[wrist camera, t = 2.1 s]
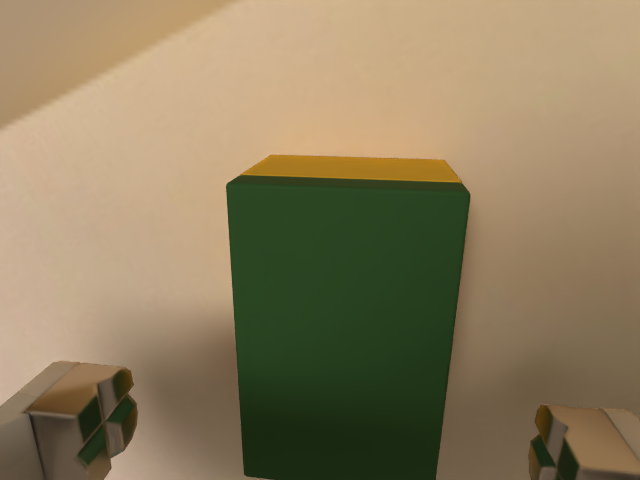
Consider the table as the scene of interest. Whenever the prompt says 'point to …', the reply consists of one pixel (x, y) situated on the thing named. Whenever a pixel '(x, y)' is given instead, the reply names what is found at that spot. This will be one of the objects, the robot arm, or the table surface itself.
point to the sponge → (344, 313)
